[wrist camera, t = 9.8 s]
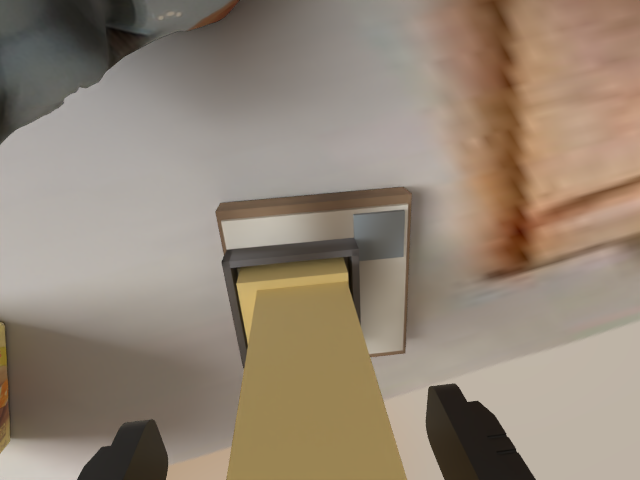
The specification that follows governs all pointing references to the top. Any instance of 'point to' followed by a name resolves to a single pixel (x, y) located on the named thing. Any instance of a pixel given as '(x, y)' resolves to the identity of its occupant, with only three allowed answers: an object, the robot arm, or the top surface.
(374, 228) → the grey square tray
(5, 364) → the candy box
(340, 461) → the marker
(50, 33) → the lucky cat figurine
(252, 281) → the ochre key
